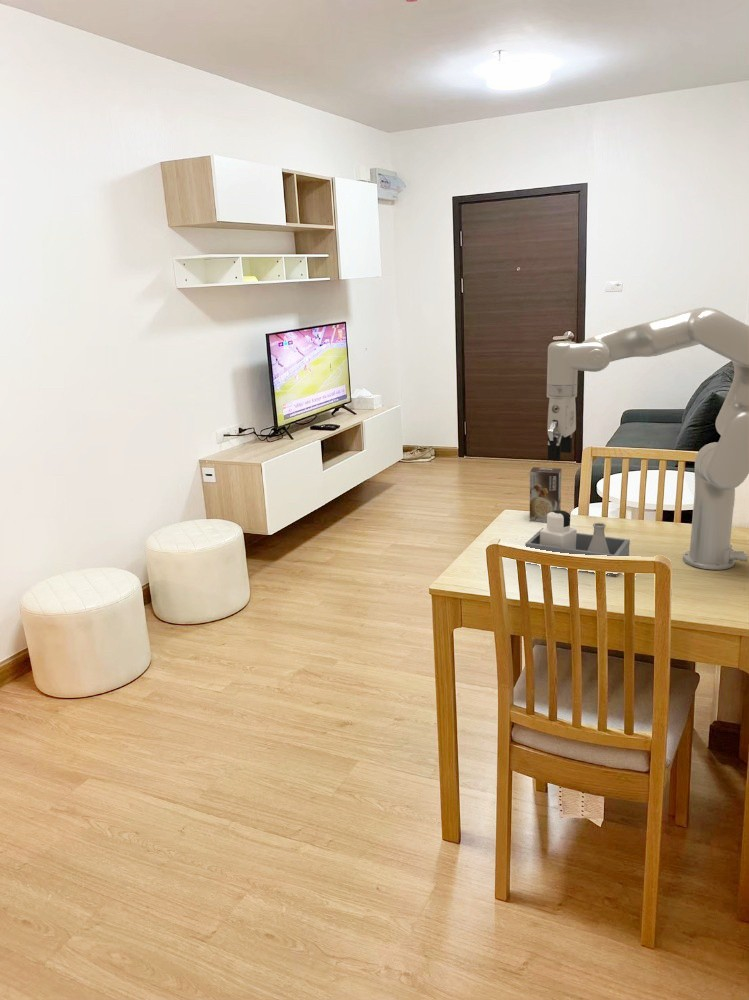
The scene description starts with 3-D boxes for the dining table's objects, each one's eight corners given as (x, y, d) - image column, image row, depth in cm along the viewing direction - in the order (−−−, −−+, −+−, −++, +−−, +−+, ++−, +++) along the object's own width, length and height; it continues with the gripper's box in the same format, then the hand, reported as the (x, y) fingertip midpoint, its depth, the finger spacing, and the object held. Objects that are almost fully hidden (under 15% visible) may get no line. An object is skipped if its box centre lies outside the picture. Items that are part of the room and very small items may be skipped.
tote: (628, 559, 209) (629, 539, 207) (616, 576, 197) (617, 556, 196) (541, 546, 220) (542, 528, 219) (524, 562, 209) (525, 543, 207)
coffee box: (561, 517, 245) (562, 468, 241) (558, 523, 240) (560, 473, 235) (532, 515, 249) (533, 466, 244) (528, 521, 243) (529, 471, 238)
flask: (613, 565, 202) (615, 529, 199) (584, 564, 203) (585, 528, 201) (610, 556, 209) (612, 520, 206) (582, 555, 210) (584, 519, 207)
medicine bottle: (553, 548, 216) (554, 506, 213) (576, 553, 211) (577, 511, 208) (538, 555, 211) (539, 512, 208) (561, 561, 206) (563, 517, 203)
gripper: (566, 396, 190) (564, 465, 195) (585, 386, 204) (583, 450, 209) (536, 395, 194) (535, 462, 198) (557, 385, 208) (555, 448, 213)
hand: (559, 456), depth 204 cm, fingers open, 9 cm apart
